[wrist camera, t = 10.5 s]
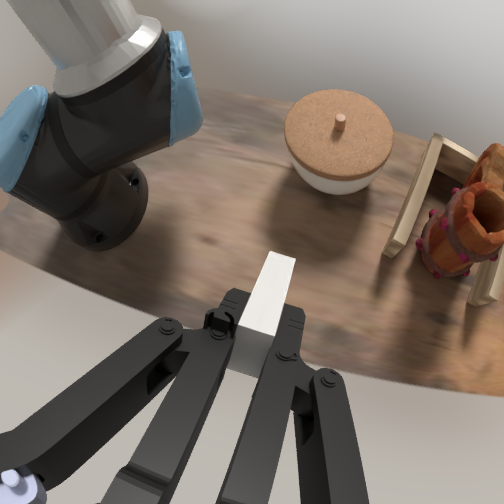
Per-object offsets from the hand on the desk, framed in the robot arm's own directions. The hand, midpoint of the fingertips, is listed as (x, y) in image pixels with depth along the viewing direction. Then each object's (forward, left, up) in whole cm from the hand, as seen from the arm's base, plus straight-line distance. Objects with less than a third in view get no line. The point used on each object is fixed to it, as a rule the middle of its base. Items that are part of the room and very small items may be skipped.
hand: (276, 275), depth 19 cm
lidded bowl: (-4, +19, -21) cm, 29 cm away
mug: (+14, +18, -21) cm, 31 cm away
